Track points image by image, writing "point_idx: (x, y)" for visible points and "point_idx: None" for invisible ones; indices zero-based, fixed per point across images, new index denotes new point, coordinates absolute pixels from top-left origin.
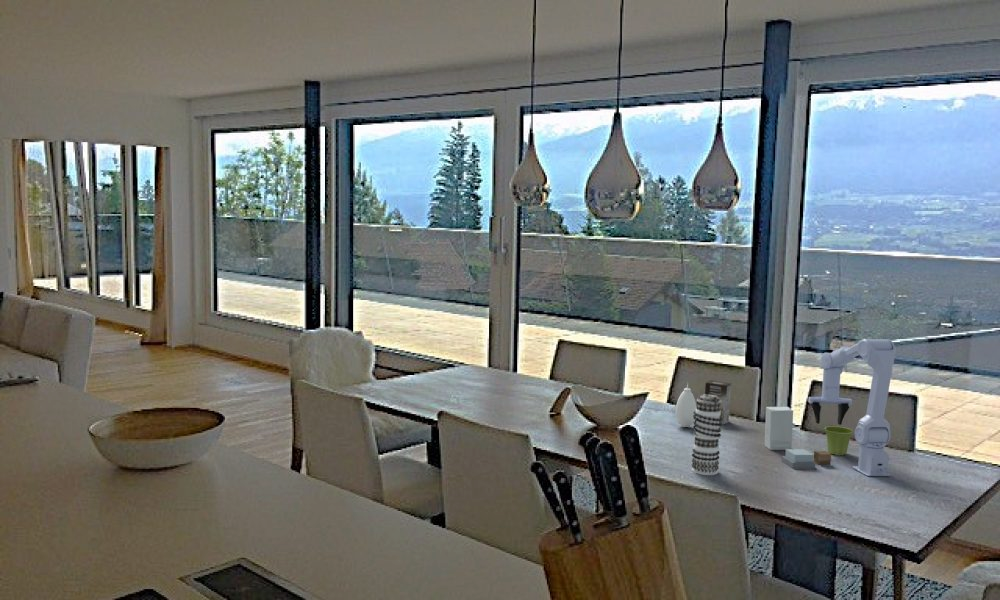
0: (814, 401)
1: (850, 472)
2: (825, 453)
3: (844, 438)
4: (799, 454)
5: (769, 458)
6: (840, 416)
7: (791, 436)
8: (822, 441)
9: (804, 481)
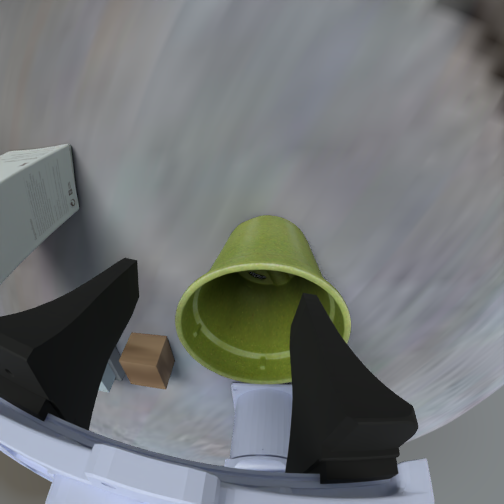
0: (12, 414)
1: (209, 399)
2: (149, 382)
3: (266, 353)
4: None
5: (26, 289)
6: (295, 380)
7: (42, 240)
8: (308, 33)
9: (99, 406)
